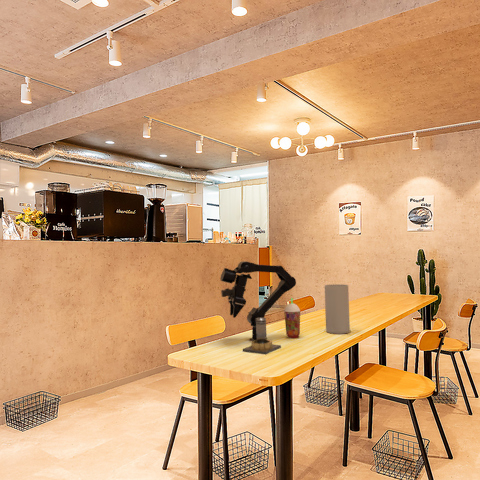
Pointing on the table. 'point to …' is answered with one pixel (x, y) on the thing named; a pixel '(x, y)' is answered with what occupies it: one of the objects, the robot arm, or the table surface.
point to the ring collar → (261, 347)
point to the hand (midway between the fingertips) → (232, 316)
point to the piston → (261, 330)
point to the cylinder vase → (337, 309)
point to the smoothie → (292, 320)
